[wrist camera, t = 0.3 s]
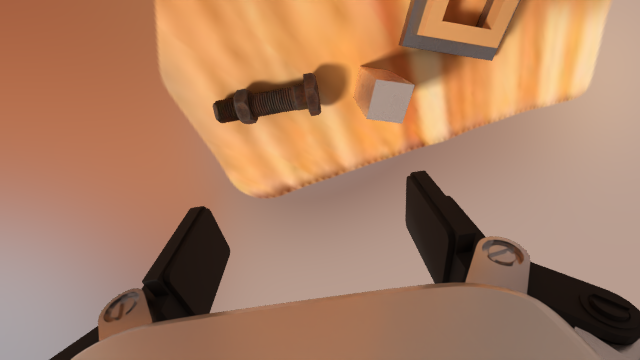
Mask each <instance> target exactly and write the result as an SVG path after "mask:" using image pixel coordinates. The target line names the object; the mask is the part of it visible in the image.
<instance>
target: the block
mask: <svg viewBox="0 0 640 360" xmlns="http://www.w3.org/2000/svg"><path fill="white" fill-rule="evenodd" d="M414 86H415V85H414V84H412V83H410V82H409V81H407V80H405V79H403V78H402V77H400V76H398V75H396V74H395V73H393V72H391V71H390V70H383V69H376V68H370V67H363V66H360V68H359V73H358V78H357V82H356V87H355V92H354V97H353V98H354V99H355V101H356V102H357V104H358V106H359V107H360V109H361V111H362V112H363V114H364V116H365V117H366V119H372V120H380V121H387V122H395V123H402V122H403V119H404V116H405V113H406V110H407V107H408V104H409V101H410V98H411V95H412V92H413V89H414Z"/></svg>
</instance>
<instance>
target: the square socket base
mask: <svg viewBox="0 0 640 360" xmlns="http://www.w3.org/2000/svg"><path fill="white" fill-rule="evenodd" d="M448 2H449V0H411V2H410V6H409V9H408V13H407V17H406V20H405V24H404V27H403V31H402V35H401V38H400V42H399V45H400V46H406V47H412V48H418V49H424V50H430V51H436V52H442V53H448V54H454V55H460V56H466V57H472V58H478V59H485V60H491V61H492V60H493V57H494V55H495V53H496V51H497V49H498V47H499V45H500V42H501V40H502V38H503V36H504V34H505V32H506V30H507V27H508V25H509V23H510V21H511V19H512V17H513V15H514V12H515V10H516V8H517V6H518V4H519V2H520V0H487V2H486V4H485V7H484V9H483V11H482V14H481V16H480V19H479V21H478V24H477V26H476V27H473V26H468V25H462V24H456V23H451V22H445V21H442V19H443V17H444V14H445V11H446V8H447V5H448Z"/></svg>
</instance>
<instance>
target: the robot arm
mask: <svg viewBox="0 0 640 360" xmlns="http://www.w3.org/2000/svg"><path fill="white" fill-rule="evenodd" d="M406 226H407V229H408V231H409V233H410V235H411V237H412V239H413V241H414V243H415V245H416V247H417V249H418V251H419V253H420V255H421V257H422V259H423V261H424V263H425V265H426V266H427V268H428V271H429V273H430V275H431V277H432V279H433V281H434V283H435V284H426V285H418V286H409V287H400V288H392V289H384V290H376V291H369V292H362V293H354V294H346V295H339V296H331V297H325V298H317V299H309V300H302V301H295V302H288V303H281V304H273V305H267V306H259V307H252V308H245V309H238V310H231V311H225V312H218V313H210V310H211V307H212V304H213V301H214V298H215V296H216V293H217V290H218V287H219V284H220V281H221V278H222V275H223V273H224V270H225V267H226V264H227V261H228V258H229V255H230V248H229V246H228V244H227V242H226V240H225V238H224V236H223V234H222V232H221V230H220V229H219V227H218V224H217V222H216V220H215V218H214V217H213V215H212V213H211V211H210V210H209V209H208V208H207V209H206V207H204V206H201V207H195V208H191V209H190V210H189V211H188V213H187V214H186V216H185V217H184V219H183V220H182V222H181V223H180V225H179V226H178V228H177V229H176V231H175V232H174V234H173V235H172V237H171V238H170V240H169V241H168V243H167V244H166V246H165V247H164V249H163V250H162V252H161V253H160V255H159V256H158V258H157V259H156V261H155V262H154V264H153V265H152V267H151V268H150V270H149V271H148V273H147V274H146V276H145V278H144V279H143V281H142V283H143V284H144V286H143V288H142V289H139V288H134V289H130V290H127V291H125V292H123V293H121V294H119V295H118V296H116V297H115V298H113V299H112V300H111V301H110V302H109V303H108V304H107V305H106V306H105V307H104V309H103V310H102V311H101V313H100V315H99V319H98V326H97V327H96V328H94V329H93V330H91V331H90V332H89V333H87V334H86V335H84V336H83V337H81V338H80V339H79V340H77V341H76V342H74V343H73V344H71V345H70V346H68V347H67V348H66V349H64V350H63V351H61V352H60V353H58V354H57V355H55V356H54V357H53V358H51V359H50V360H640V311H639V310H638V309H637V308H636V307H635V306H634V305H632V304H631V303H630V302H629V301H627V300H626V299H624V298H622V297H620V296H619V295H617V294H615V293H613V292H610V291H608V290H606V289H603V288H600V287H597V286H595V285H592V284H589V283H586V282H584V281H581V280H578V279H576V278H573V277H570V276H567V275H565V274H562V273H559V272H557V271H554V270H551V269H548V268H546V267H543V266H540V265H537V264H535V263H532V262H530V256H529V255H528V253H527V251H526V250H525V249H524V248H522V246H520V245H519V244H517V243H515V242H514V241H511V240H509V239H506V238H502V237H493V236H490V237H485V236H484V234H483V233H482V232H481V231H480V230H479V229H478V228H477V226H476V225H475V224H474V223H473V222H472V221H471V220H470V218H469V217H468V216H467V215H466V214H465V212H464V211H463V210H462V209H461V208H460V207H459V205H458V204H457V203H456V202H455V201H454V200H453V198H451V197H450V196H446V195H445V194H444V193H443V192H442V191H441V189H440V188H439V187H438V186H437V185H436V183H435V182H434V181H433V180H432V179H431V177H430V176H429V175H428V174H427V173H426V171H418V172H412V173H411V174H410V176H408V177H407V183H406ZM209 313H210V314H209Z"/></svg>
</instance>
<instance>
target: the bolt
mask: <svg viewBox="0 0 640 360" xmlns="http://www.w3.org/2000/svg"><path fill="white" fill-rule="evenodd" d="M303 77H304V84H300V85H295V86H293V87H289V88H287V89H286V88H284V89H283V88H282V90H281V89H280V90H279V89H277V90H275V91H274V90H273V91H268V92H267V91H266V93H265V92H263V93H259V94H258V93H257V94H252V93H251V91H249V90H246V89H242V90H237V91H236V93H235V95H234V98H232V99H231V98H230V99H225V100H219V101H216V102H215V103H214V104H213V109H214V114H215V118H216V119H217V120H218V121H219V122H220V123H226V122H231V121H237V120H240V121H241V122H242V123H245V124H253V123H256V122H257V120H258V117H260V116H266V115H269V114H270V115H271V114H276V113H280V112H287V111H288V112H289V111H294V110H303V109H309V112H310V114H311V116H314V115H319V114H320V113H321V105H320V99H319V93H318V87H317V82H316V76H315V75H314V74H312V73H308V74H303Z"/></svg>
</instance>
